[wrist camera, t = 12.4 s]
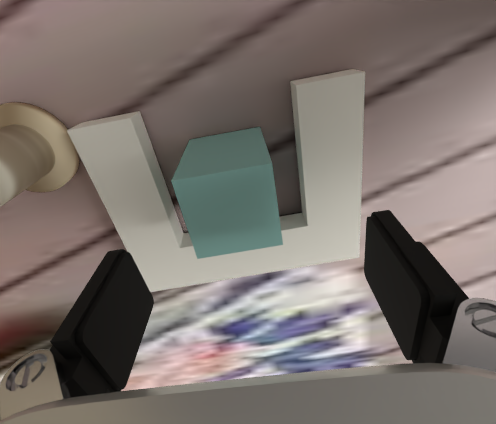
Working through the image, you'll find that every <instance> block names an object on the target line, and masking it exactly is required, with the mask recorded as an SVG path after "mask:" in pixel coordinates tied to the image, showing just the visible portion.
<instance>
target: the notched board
mask: <svg viewBox="0 0 496 424" xmlns="http://www.w3.org/2000/svg"><path fill="white" fill-rule="evenodd" d="M290 85H291V96H292V107H293V118H294V128H295V139H296V150H297V161H298V172H299V183H300V193H301V204H302V213H297V214H292V215H286V216H280V217H279V218H280V226H281V233H282V240H283V245H279V246H273V247H267V248H261V249H255V250H249V251H243V252H237V253H231V254H225V255H218V256H212V257H206V258H200V259H197V256H196V253H195V250H194V247H193V244H192V241H191V238H190V235H189V233H183V231H182V228H181V225H180V222H179V219H178V217H177V214H176V211H175V208H174V205H173V203H172V200H171V197H170V194H169V191H168V189H167V186H166V183H165V180H164V177H163V175H162V172H161V169H160V166H159V164H158V161H157V158H156V155H155V152H154V150H153V147H152V144H151V141H150V138H149V136H148V133H147V130H146V127H145V124H144V122H143V119H142V116H141V113H140V111H138V112H133V113H127V114H122V115H117V116H112V117H107V118H102V119H97V120H92V121H87V122H82V123H80V124H78V125H76V126H74V127H72V128H70V129H69V130H67V132H68V134H69V136H70V138H71V140H72V142H73V144H74V146H75V148H76V150H77V152H78V154H79V156H80V158H81V160H82V162H83V164H84V166H85V168H86V170H87V172H88V174H89V176H90V178H91V180H92V182H93V184H94V186H95V188H96V190H97V192H98V194H99V196H100V198H101V200H102V202H103V204H104V206H105V208H106V210H107V212H108V214H109V216H110V218H111V220H112V222H113V224H114V226H115V228H116V230H117V232H118V234H119V236H120V238H121V240H122V242H123V244H124V246H125V248H126V250H127V252H129V253H130V254H131V255H132V257H133V259H134V261H135V263H136V265H137V267H138V269H139V271H140V273H141V275H142V277H143V279H144V281H145V283H146V285H147V287H148V289H149V291H150V292H155V291H161V290H167V289H173V288H179V287H185V286H191V285H197V284H203V283H209V282H215V281H221V280H227V279H233V278H239V277H245V276H251V275H257V274H263V273H269V272H275V271H281V270H287V269H293V268H299V267H305V266H311V265H318V264H324V263H330V262H336V261H342V260H348V259H354V258H359V255H360V223H361V191H362V158H363V126H364V93H365V72H364V71H360V70H355V69H350V70H345V71H340V72H335V73H330V74H325V75H320V76H314V77H309V78H304V79H299V80H294V81H290Z"/></svg>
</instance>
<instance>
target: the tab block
mask: <svg viewBox="0 0 496 424" xmlns="http://www.w3.org/2000/svg"><path fill="white" fill-rule="evenodd" d="M171 182H172V185H173V188H174V191H175V194H176V197H177V200H178V203H179V206H180V209H181V212H182V215H183V218H184V221H185V224H186V226H187V229H188V232H189V235H190V238H191V241H192V244H193V247H194V250H195V253H196V256H197V259H200V258H206V257H212V256H218V255H225V254H231V253H237V252H243V251H249V250H255V249H261V248H267V247H273V246H279V245H283V240H282V233H281V226H280V218H279V211H278V203H277V196H276V188H275V181H274V173H273V166H272V161H271V158H270V155H269V152H268V149H267V146H266V143H265V140H264V137H263V134H262V131H261V128H260V127H256V128H250V129H245V130H240V131H234V132H229V133H223V134H218V135H212V136H207V137H202V138H196V139H191V140H189V142H188V144H187V147H186V149H185V151H184V153H183V156H182V158H181V160H180V162H179V165H178V167H177V169H176V171H175V174H174V176H173V178H172V180H171Z"/></svg>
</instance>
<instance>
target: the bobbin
mask: <svg viewBox="0 0 496 424" xmlns="http://www.w3.org/2000/svg"><path fill="white" fill-rule="evenodd" d="M67 130H68V129H67V128H66V127H65V126H64V124H63V123H62V122H61V121H59V120H58V119H57V118H56V117H55V116H53V115H52V114H50V113H49V112H47V111H46V110H44V109H42V108H40V107H37V106H34V105H31V104H27V103H21V102H10V103H5V104H1V105H0V207H1V206H3V205H4V204H5V203H7V202H8V201H10V200H11V199H12V198H14V197H15V196H17V195H18V194H20V193H21V192H22V191H24V190H28V191H33V192H50V191H54V190H56V189H59V188H60V187H62V186H64V185H65V184H66V183H67V182H68V181H70V180H71V179H72V178H73V177H74V175H75V174H76V172H77V170H78V167H79V154H78V152H77V150H76V148H75V146H74V144H73V142H72V140H71V138H70V136H69V134H68V132H67Z"/></svg>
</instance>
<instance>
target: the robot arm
mask: <svg viewBox="0 0 496 424" xmlns="http://www.w3.org/2000/svg"><path fill="white" fill-rule="evenodd" d="M364 273H365V277H366V279H367V281H368V283H369V285H370V288H371V290H372V292H373V294H374V296H375V298H376V300H377V302H378V304H379V306H380V308H381V310H382V312H383V314H384V316H385V318H386V320H387V322H388V324H389V326H390V328H391V330H392V332H393V334H394V336H395V338H396V340H397V342H398V344H399V346H400V348H401V350H402V353H403V355H404V356H405V358H406V359H407V360H412V362H413V363H412V364H394V365H381V366H369V367H356V368H345V369H334V370H324V371H314V372H303V373H293V374H283V375H273V376H263V377H253V378H243V379H233V380H223V381H214V382H204V383H194V384H185V385H175V386H166V387H157V388H147V389H138V390H129V391H121V389H124V388H125V386H126V384H127V381H128V378H129V375H130V373H131V370H132V367H133V364H134V361H135V358H136V355H137V352H138V349H139V346H140V343H141V340H142V337H143V334H144V332H145V329H146V326H147V323H148V320H149V317H150V314H151V311H152V308H153V304H154V300H153V296H152V294H151V292H150V291H149V289H148V287H147V285H146V283H145V281H144V279H143V277H142V275H141V273H140V271H139V269H138V267H137V265H136V263H135V261H134V259H133V257H132V255H131V254H130V253H129V252H126V251H125V250H124V249H121V250H114V251H109V252H107V254H106V255H105V257H104V258H103V260H102V261H101V263H100V265H99V266H98V268H97V269H96V271H95V272H94V274H93V276H92V277H91V279H90V280H89V282H88V283H87V285H86V287H85V288H84V290H83V291H82V293H81V294H80V296H79V298H78V299H77V301H76V302H75V304H74V305H73V307H72V309H71V310H70V312H69V313H68V315H67V316H66V318H65V320H64V321H63V323H62V324H61V326H60V327H59V329H58V331H57V332H56V334H55V335H54V337H53V338H52V340H51V343H52V345H53V346H52V347H51V349H50V350H47V349H40V350H36V351H33V352H31V353H29V354H27V355H25V356H24V357H22V358H21V359H20V360H18V361H17V362H16V363H15V364H14V365H13V366H12V367H11V368H10V369H9V370H8V371H7V373H6V374H5V375H4V377H3V379H2V381H1V383H0V424H496V301H493V300H489V299H485V298H472V299H469V298H468V296H467V295H466V294H465V293H464V292H463V291H462V289H461V288H460V287H459V286H458V285H457V283H456V282H455V281H454V280H453V279H452V278H451V276H450V275H449V274H448V273H447V272H446V270H445V269H444V268H443V267H442V266H441V265H440V263H439V262H438V261H437V260H436V259H435V257H434V256H433V255H432V254H431V253H430V252H429V250H428V249H427V248H426V247H425V246H424V245H423V244H422V243H421V242H415V241H414V239H413V238H412V237H411V236H410V234H409V233H408V232H407V231H406V230H405V228H404V227H403V226H402V225H401V223H400V222H399V221H398V220H397V219H396V217H395V216H394V215H393V214H392V212H391V211H389V210H385V211H378V212H373V213H372V215H371V217H367V223H366V242H365V262H364Z"/></svg>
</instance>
